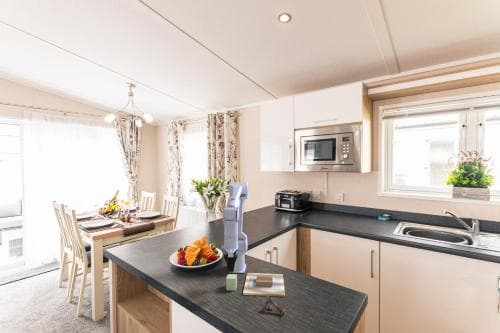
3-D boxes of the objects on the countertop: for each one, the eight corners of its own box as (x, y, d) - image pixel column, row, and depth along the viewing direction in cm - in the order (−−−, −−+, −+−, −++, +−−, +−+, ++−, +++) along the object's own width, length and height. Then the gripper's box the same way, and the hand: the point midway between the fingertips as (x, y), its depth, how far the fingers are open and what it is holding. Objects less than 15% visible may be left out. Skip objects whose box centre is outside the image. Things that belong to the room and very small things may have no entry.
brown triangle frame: (264, 302, 91) (268, 293, 90) (281, 318, 86) (285, 309, 85) (261, 305, 89) (265, 295, 88) (278, 321, 85) (283, 311, 84)
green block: (227, 285, 106) (227, 274, 105) (236, 285, 105) (236, 274, 105) (226, 290, 102) (226, 278, 101) (235, 290, 101) (235, 278, 101)
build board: (247, 274, 116) (247, 268, 116) (282, 276, 114) (282, 269, 114) (243, 294, 98) (243, 287, 98) (285, 296, 96) (285, 289, 96)
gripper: (222, 230, 109) (222, 260, 109) (220, 241, 94) (220, 275, 95) (238, 230, 109) (238, 260, 109) (238, 241, 95) (238, 275, 95)
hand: (231, 267), depth 102 cm, fingers open, 7 cm apart
